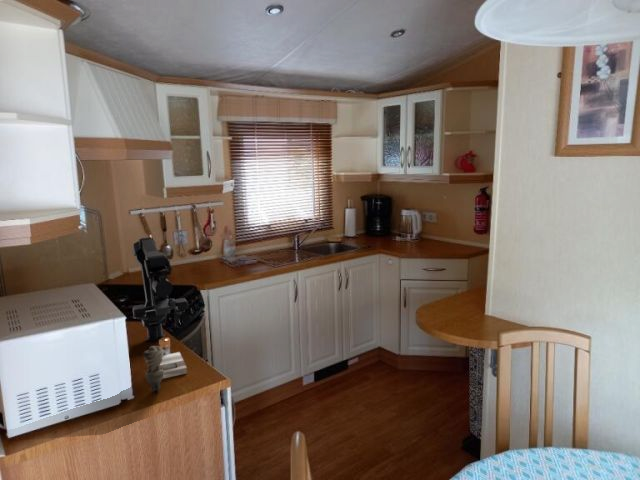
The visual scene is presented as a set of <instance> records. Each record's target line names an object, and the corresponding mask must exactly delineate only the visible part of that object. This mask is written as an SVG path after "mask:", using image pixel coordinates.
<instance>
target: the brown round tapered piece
mask: <svg viewBox="0 0 640 480" xmlns="http://www.w3.org/2000/svg"><path fill="white" fill-rule="evenodd" d="M158 344H159V345H158V346H159V347H160V348H161V349H162V354H163V355H167V354H171V349H170V348H171V338H170V337H163V338H161V339H159V340H158Z"/></svg>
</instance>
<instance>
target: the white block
mask: <svg viewBox="0 0 640 480" xmlns="http://www.w3.org/2000/svg"><path fill="white" fill-rule="evenodd" d="M160 367H161V368H162V369H163V379H167V378H173V377H176V376H180V375H185V374H188V367H187V365H186V363H185V360H184V358H183V356H182V354H181V352H180V351H177V352H173V353H170V354H167V355H163V356H162V362H161V364H160ZM163 379H162V380H163Z"/></svg>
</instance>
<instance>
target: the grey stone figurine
mask: <svg viewBox="0 0 640 480" xmlns="http://www.w3.org/2000/svg"><path fill="white" fill-rule="evenodd" d="M142 354H143V355H144V357H143V359H144V360H145V361H144V363H145V364H146V368H147V370H145V380H146V382H147V383H148V384H149V385H150V390H151V391H152V392H158V390H161V382H162V380H163V369H162V368H161V367H160V364H161V362H162V356H163V354H162V349H161V348H160V346H159V345H150V346H149V349H146V350H145V351H144V352H143V353H142Z"/></svg>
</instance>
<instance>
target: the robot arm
mask: <svg viewBox="0 0 640 480" xmlns="http://www.w3.org/2000/svg"><path fill="white" fill-rule="evenodd" d="M132 255H133V257H135V261H136V262H137V263H138V264H139V265H140V269H141V277H142V282H143V290H144V296H145V304H139V305H133V307H132V313H133V318H135V319H138V320H141V324H142V325H143V328H146V331H147V333H146V334H147V336H146V338H145V340H144V341H145V342H151V341H152V342H157V341H158V342H159V339H161V338H165V335H166V333H165V332H163V324H166V323H167V315H169V314H171V310H174V328H175V329H176V328H177V327H178V324H179V319H180V317H181V315H182V313H184V312H185V310H188V309H189V303H188V301H187V299H186V298H185V297H181V298H176V299H175V298H169V295H171V294H172V292H173V289H174V287H173V284H172V283H171V281H170V280H169V279H168V276H171V275H172V273H171V272H172V266H171V261H170V260H169V258H168V257H167V256H166V255H165V253H163V252H161V251H158V249H157V245H156V241H155V240H154V238H153V237H150V236H148V237H141V238H138V241H137V242H134V243H133V244H132Z"/></svg>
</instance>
